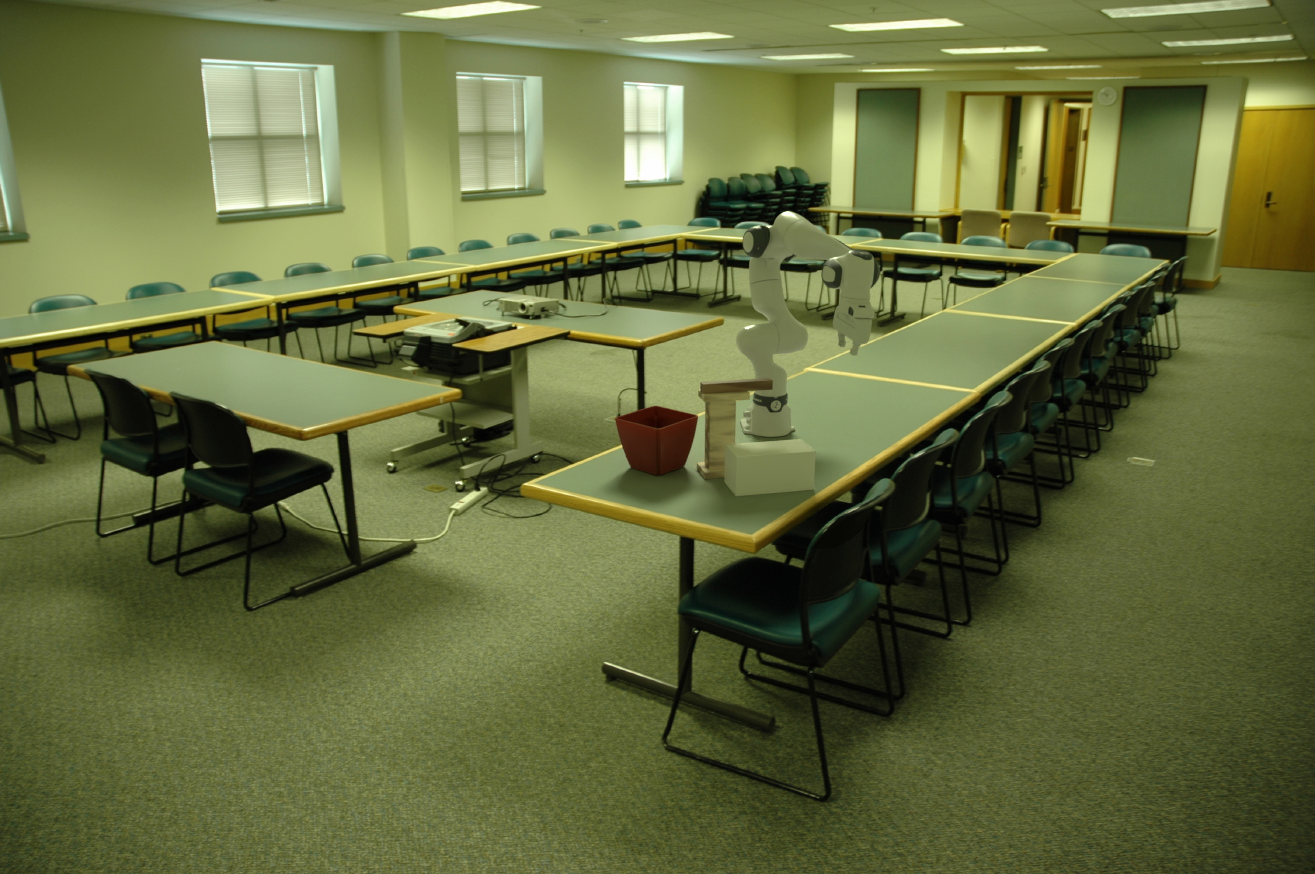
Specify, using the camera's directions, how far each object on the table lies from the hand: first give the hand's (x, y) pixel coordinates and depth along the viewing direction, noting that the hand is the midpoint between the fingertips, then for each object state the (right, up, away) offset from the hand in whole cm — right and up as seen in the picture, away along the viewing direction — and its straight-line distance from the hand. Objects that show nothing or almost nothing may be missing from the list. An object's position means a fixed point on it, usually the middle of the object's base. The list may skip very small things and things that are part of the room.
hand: (847, 350), depth 279 cm
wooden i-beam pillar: (-37, -37, +8) cm, 53 cm away
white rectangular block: (-24, -41, -4) cm, 48 cm away
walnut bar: (-34, -12, +1) cm, 36 cm away
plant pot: (-58, -36, +12) cm, 69 cm away
